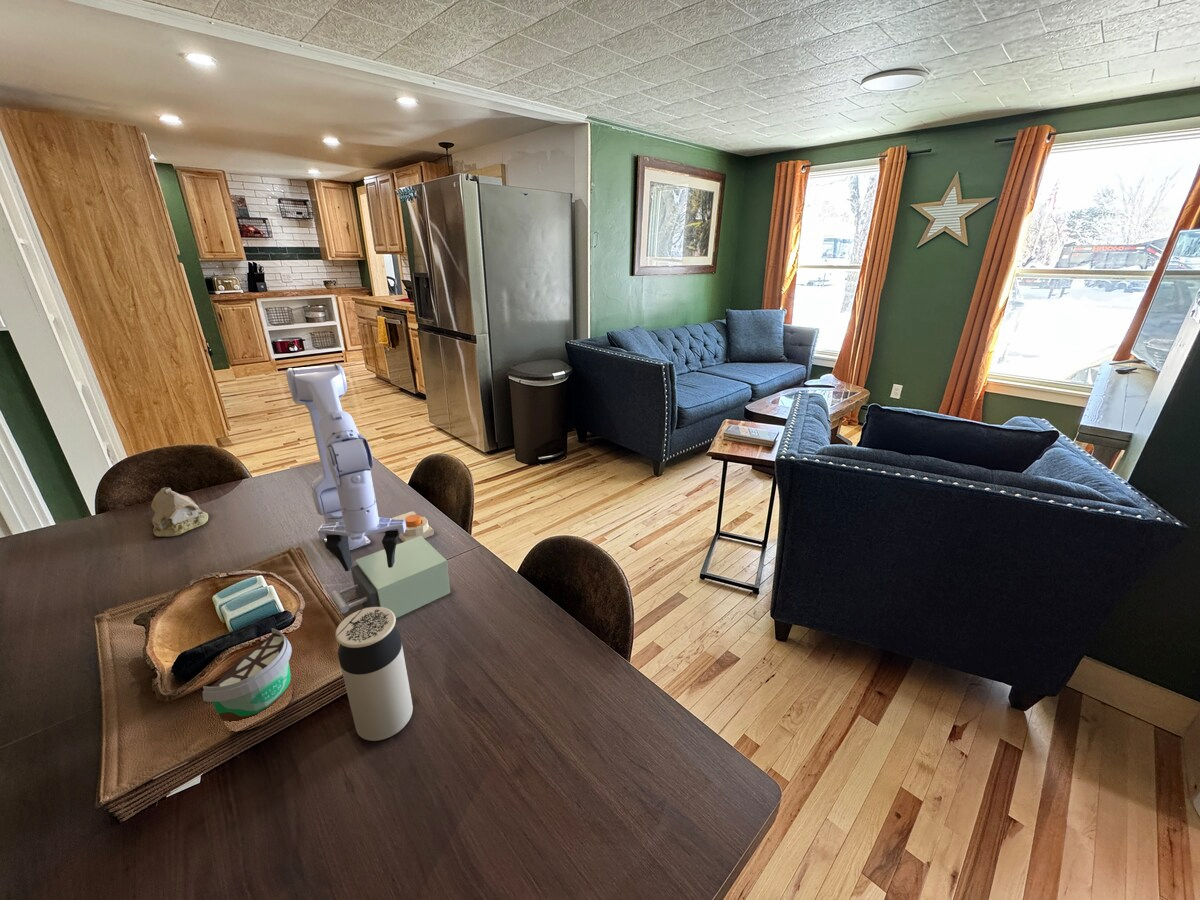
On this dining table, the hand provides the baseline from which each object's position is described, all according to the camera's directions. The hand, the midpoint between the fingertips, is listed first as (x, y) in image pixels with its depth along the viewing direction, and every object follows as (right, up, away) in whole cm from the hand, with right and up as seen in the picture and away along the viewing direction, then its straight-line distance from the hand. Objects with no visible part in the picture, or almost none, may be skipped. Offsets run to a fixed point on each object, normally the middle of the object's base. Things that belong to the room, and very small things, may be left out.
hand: (370, 566), depth 90 cm
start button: (-2, +4, +27) cm, 27 cm away
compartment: (+1, -8, +5) cm, 9 cm away
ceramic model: (-63, +3, +30) cm, 70 cm away
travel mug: (+11, -19, -18) cm, 28 cm away
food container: (-6, -18, -17) cm, 26 cm away
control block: (-4, +2, +30) cm, 30 cm away
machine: (+4, -7, +8) cm, 11 cm away
